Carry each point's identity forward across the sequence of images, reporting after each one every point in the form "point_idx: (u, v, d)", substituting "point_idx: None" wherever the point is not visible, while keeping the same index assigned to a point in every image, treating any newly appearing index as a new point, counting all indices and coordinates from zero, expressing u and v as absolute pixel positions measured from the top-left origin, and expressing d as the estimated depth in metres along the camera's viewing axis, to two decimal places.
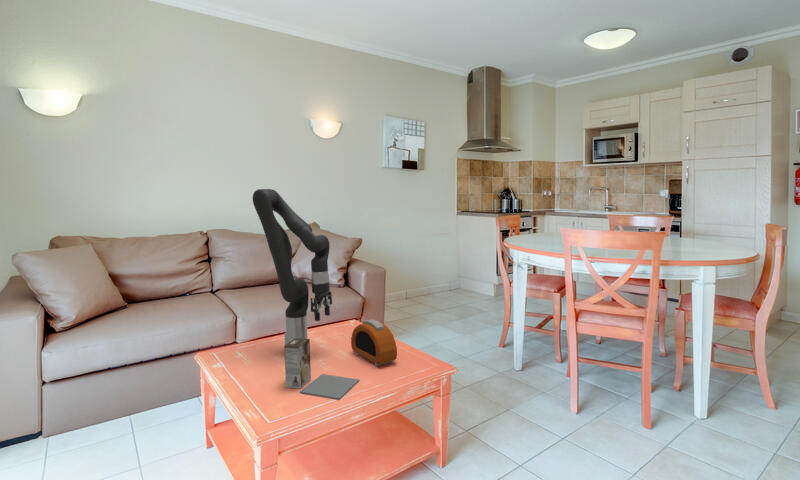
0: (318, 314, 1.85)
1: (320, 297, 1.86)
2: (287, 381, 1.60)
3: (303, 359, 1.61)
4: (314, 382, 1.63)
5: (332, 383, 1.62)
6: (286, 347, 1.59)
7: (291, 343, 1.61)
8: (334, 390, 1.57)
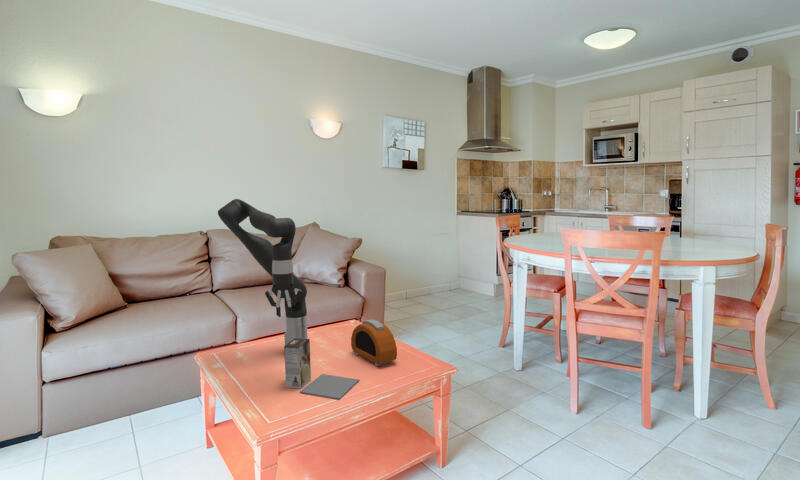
0: None
1: None
2: (287, 381, 1.60)
3: (303, 359, 1.61)
4: (314, 382, 1.63)
5: (332, 383, 1.62)
6: (286, 347, 1.59)
7: (291, 343, 1.61)
8: (334, 390, 1.57)
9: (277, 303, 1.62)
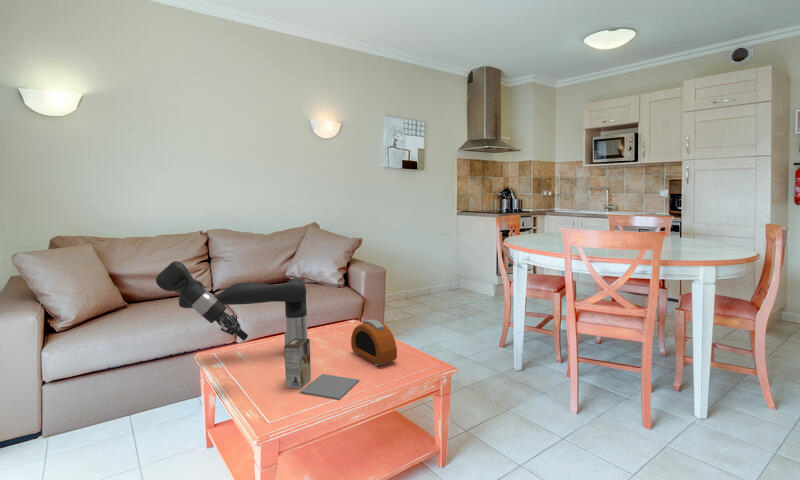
0: (241, 332, 1.58)
1: (222, 318, 1.54)
2: (287, 381, 1.60)
3: (303, 359, 1.61)
4: (314, 382, 1.63)
5: (332, 383, 1.62)
6: (286, 347, 1.59)
7: (291, 343, 1.61)
8: (334, 390, 1.57)
9: None
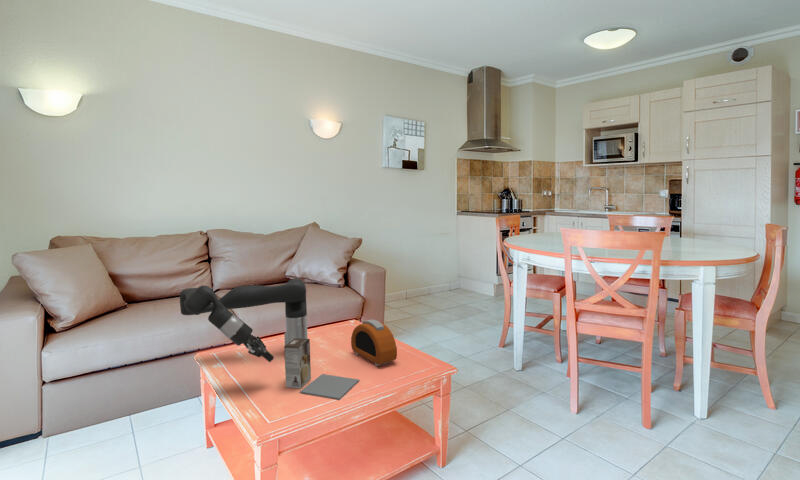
0: (267, 353, 1.60)
1: (249, 340, 1.57)
2: (287, 381, 1.60)
3: (303, 359, 1.61)
4: (314, 382, 1.63)
5: (332, 383, 1.62)
6: (286, 347, 1.59)
7: (291, 343, 1.61)
8: (334, 390, 1.57)
9: None
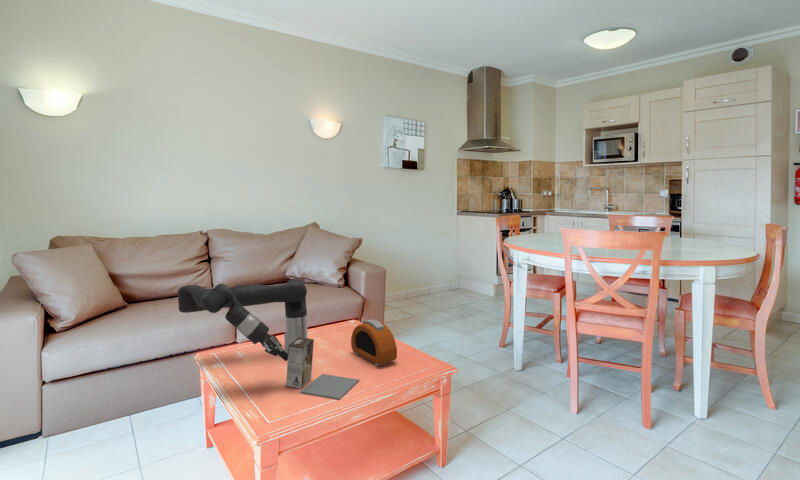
0: (283, 352, 1.60)
1: (266, 339, 1.57)
2: (288, 380, 1.60)
3: (306, 360, 1.61)
4: (314, 382, 1.63)
5: (332, 383, 1.62)
6: (290, 346, 1.58)
7: (296, 343, 1.61)
8: (334, 390, 1.57)
9: None
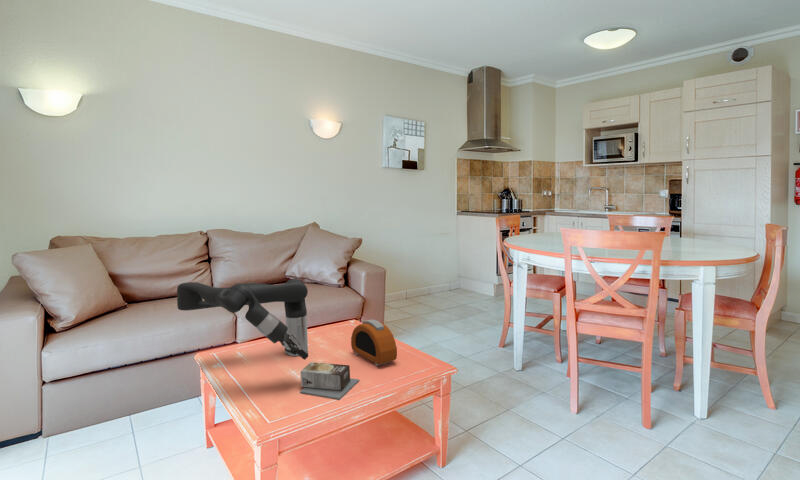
0: (302, 351, 1.63)
1: (285, 338, 1.59)
2: (306, 373, 1.58)
3: None
4: None
5: None
6: (340, 377, 1.55)
7: (344, 376, 1.58)
8: (334, 390, 1.57)
9: None
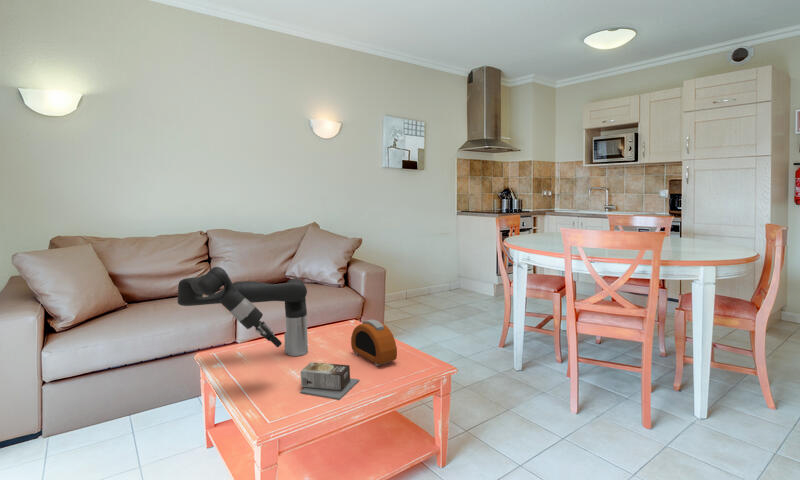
0: (276, 338, 1.61)
1: (261, 323, 1.57)
2: (306, 373, 1.58)
3: None
4: None
5: None
6: (340, 377, 1.55)
7: (344, 376, 1.58)
8: (334, 390, 1.57)
9: None
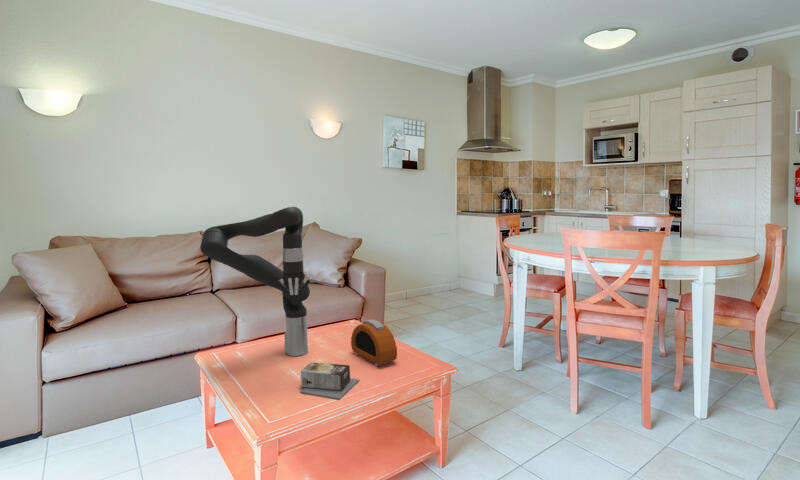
0: None
1: None
2: (306, 373, 1.58)
3: None
4: None
5: None
6: (340, 377, 1.55)
7: (344, 376, 1.58)
8: (334, 390, 1.57)
9: (291, 291, 1.65)
